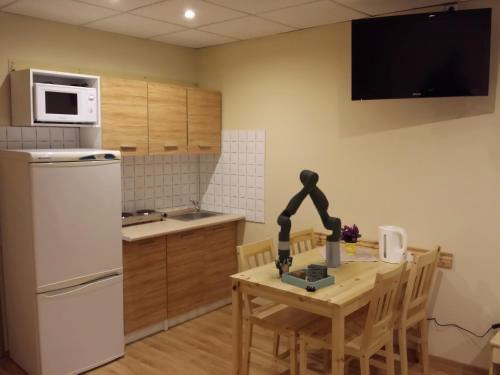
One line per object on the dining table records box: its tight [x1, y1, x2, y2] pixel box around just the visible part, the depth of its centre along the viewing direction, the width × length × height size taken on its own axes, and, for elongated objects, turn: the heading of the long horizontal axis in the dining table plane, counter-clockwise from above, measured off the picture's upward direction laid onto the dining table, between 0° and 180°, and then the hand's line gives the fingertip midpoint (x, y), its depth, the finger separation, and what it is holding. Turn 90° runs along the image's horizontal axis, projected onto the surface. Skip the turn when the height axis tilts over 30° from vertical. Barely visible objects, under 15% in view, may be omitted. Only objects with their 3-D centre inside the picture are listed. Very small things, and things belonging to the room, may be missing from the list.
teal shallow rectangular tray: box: [281, 267, 336, 291], centre depth 277 cm, size 20×24×4 cm
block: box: [292, 269, 307, 281], centre depth 279 cm, size 6×6×6 cm
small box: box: [307, 263, 328, 281], centre depth 275 cm, size 11×6×10 cm, turn 59°
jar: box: [279, 264, 288, 278], centre depth 289 cm, size 5×5×8 cm
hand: (284, 274), depth 289 cm, fingers closed on jar, 4 cm apart
